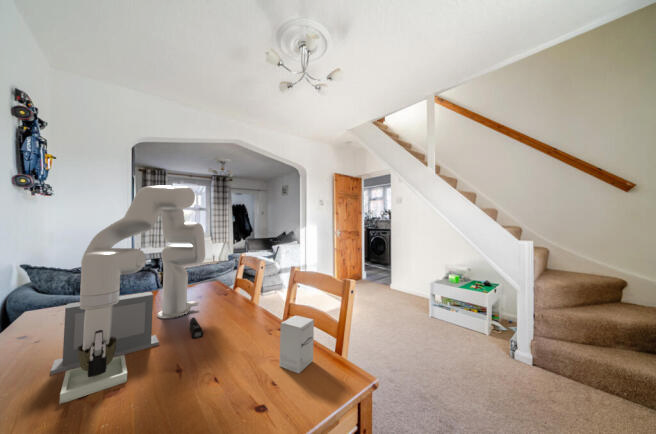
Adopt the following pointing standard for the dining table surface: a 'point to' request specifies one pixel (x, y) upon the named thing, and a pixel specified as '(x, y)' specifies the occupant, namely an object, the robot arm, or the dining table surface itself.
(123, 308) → the grey sign holder
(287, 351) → the supplement box
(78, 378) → the parts tray
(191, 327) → the electric trimmer
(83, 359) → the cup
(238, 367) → the dining table surface
